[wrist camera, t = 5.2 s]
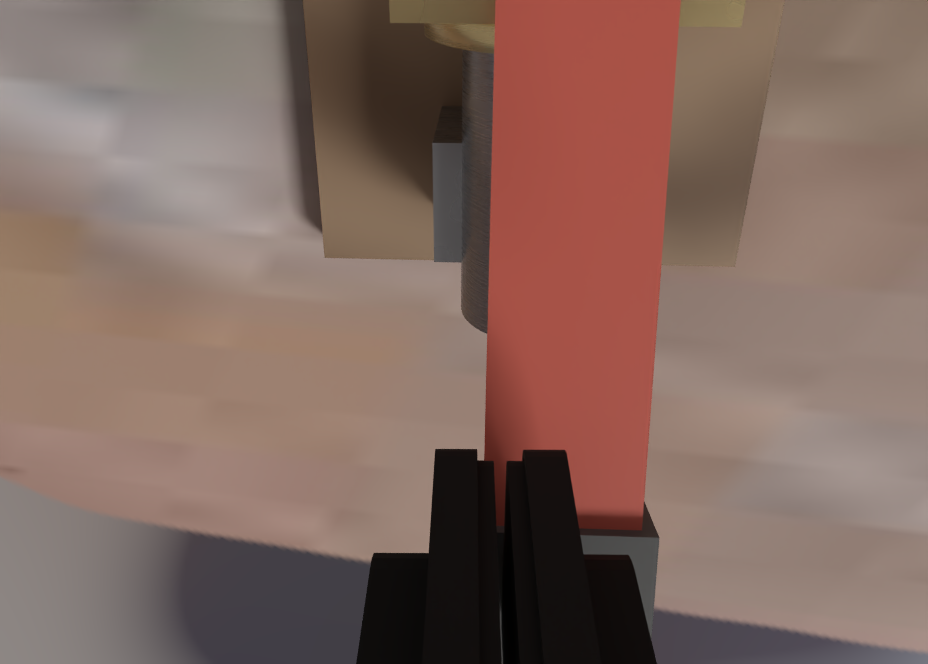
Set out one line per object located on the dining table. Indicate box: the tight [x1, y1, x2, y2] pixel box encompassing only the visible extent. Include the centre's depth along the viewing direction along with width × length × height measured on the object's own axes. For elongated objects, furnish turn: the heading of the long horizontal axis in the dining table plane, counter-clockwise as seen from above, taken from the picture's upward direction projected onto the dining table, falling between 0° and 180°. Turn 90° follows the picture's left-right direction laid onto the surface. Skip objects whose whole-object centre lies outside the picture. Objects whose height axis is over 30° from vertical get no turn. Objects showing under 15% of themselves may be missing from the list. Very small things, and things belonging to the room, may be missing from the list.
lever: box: [484, 0, 681, 664], centre depth 11 cm, size 16×3×2 cm, turn 0°
